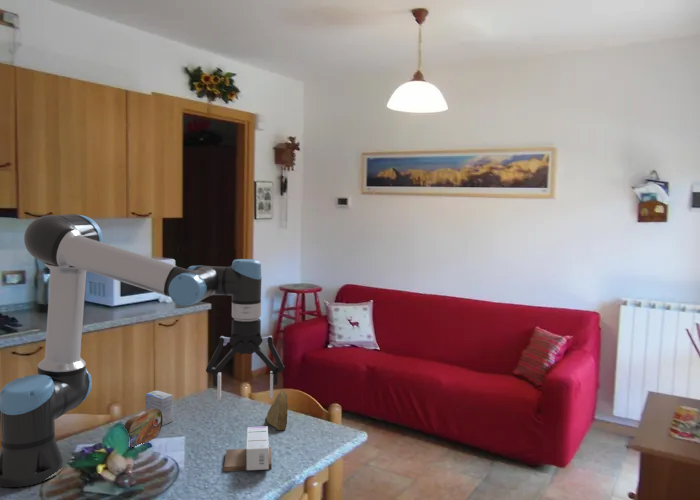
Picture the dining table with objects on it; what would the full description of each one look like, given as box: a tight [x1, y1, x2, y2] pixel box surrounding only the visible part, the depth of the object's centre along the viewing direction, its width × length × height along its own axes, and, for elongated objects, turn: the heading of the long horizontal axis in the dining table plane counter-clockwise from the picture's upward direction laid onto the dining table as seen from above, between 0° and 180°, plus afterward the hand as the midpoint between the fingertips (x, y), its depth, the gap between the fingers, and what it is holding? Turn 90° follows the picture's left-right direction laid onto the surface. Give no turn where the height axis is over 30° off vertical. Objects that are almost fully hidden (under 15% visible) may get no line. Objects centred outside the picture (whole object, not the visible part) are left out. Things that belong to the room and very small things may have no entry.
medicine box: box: [145, 390, 174, 426], centre depth 173 cm, size 8×4×9 cm, turn 58°
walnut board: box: [223, 446, 272, 472], centre depth 148 cm, size 12×10×1 cm
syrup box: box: [245, 425, 270, 471], centre depth 147 cm, size 6×6×14 cm
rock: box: [265, 390, 289, 431], centre depth 172 cm, size 11×9×10 cm
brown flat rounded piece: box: [123, 408, 163, 447], centre depth 158 cm, size 15×3×8 cm, turn 163°
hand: (245, 397), depth 147 cm, fingers open, 13 cm apart
